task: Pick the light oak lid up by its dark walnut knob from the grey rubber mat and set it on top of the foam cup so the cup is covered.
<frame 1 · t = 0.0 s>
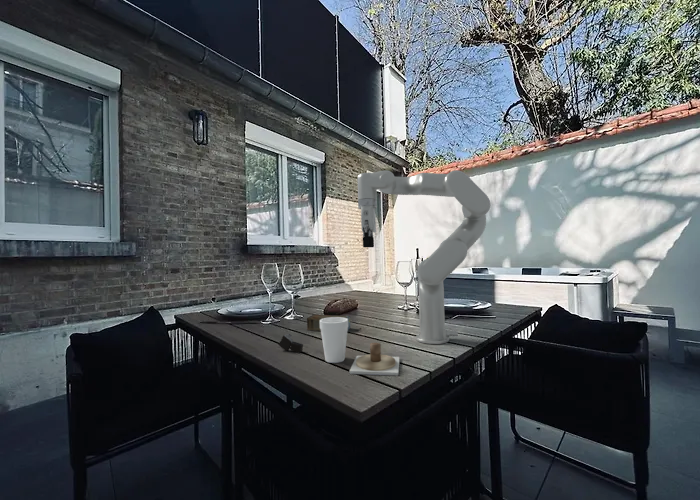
hand: (368, 247, 134), 37 cm above the table, tool pointing down, fingers open, 9 cm apart
lid: (375, 363, 102), point 1 cm above the table, touching mat
mat: (375, 366, 102), on the table
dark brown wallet: (291, 351, 121), on the table
beverage carton: (328, 330, 152), on the table
foam cup: (334, 360, 110), on the table
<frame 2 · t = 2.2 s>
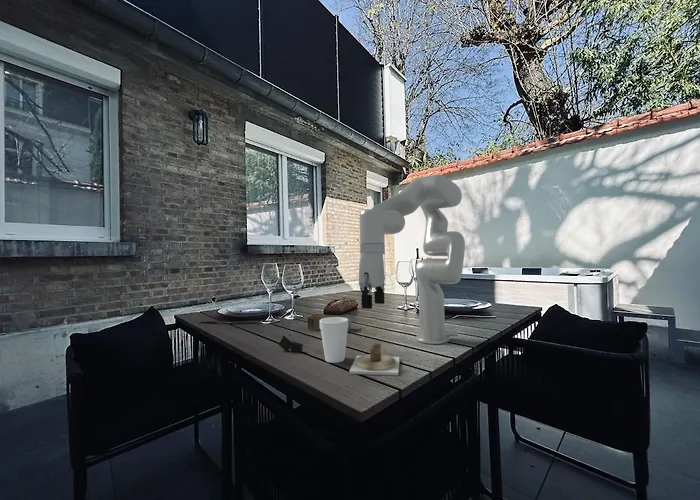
hand: (373, 305, 102), 19 cm above the table, tool pointing down, fingers open, 9 cm apart
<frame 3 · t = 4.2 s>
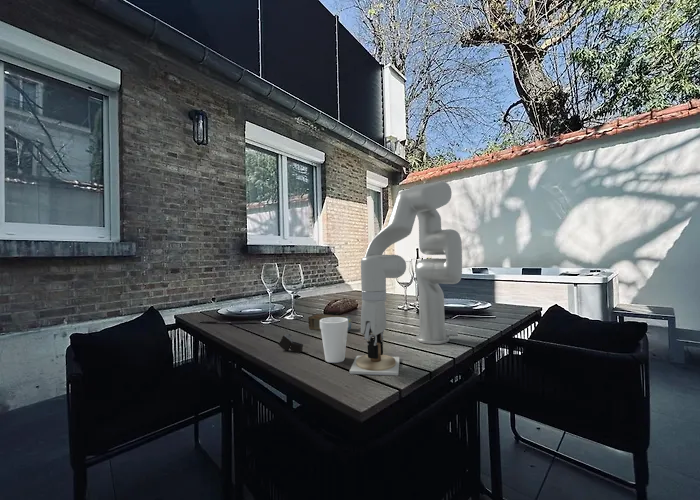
hand: (375, 355, 102), 3 cm above the table, tool pointing down, fingers closed on lid, 3 cm apart
lid: (375, 363, 102), point 1 cm above the table, touching gripper, mat
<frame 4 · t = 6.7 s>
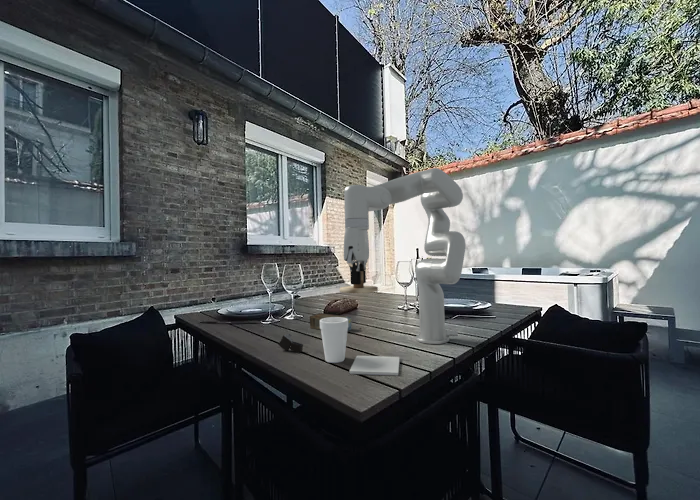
hand: (358, 283, 105), 25 cm above the table, tool pointing down, fingers closed on lid, 3 cm apart
lid: (358, 290, 105), point 23 cm above the table, touching gripper
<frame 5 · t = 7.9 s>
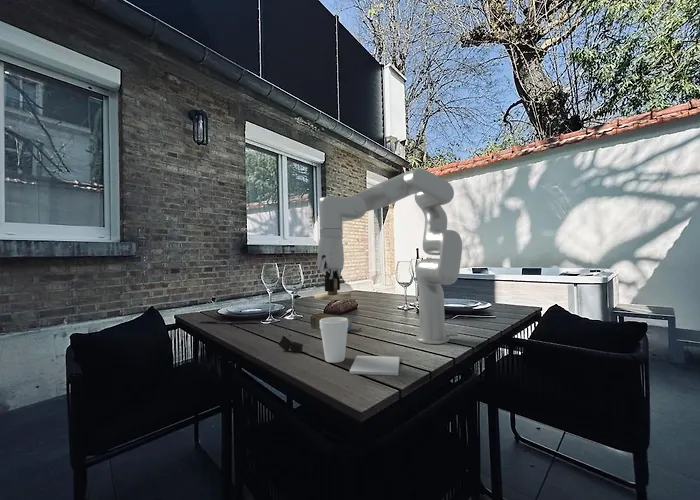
hand: (332, 290, 110), 23 cm above the table, tool pointing down, fingers closed on lid, 3 cm apart
lid: (332, 297, 110), point 20 cm above the table, touching gripper
when the fingers open (16 cm above the table, at t = 9.2 s): lid stays where it is, resting on foam cup.
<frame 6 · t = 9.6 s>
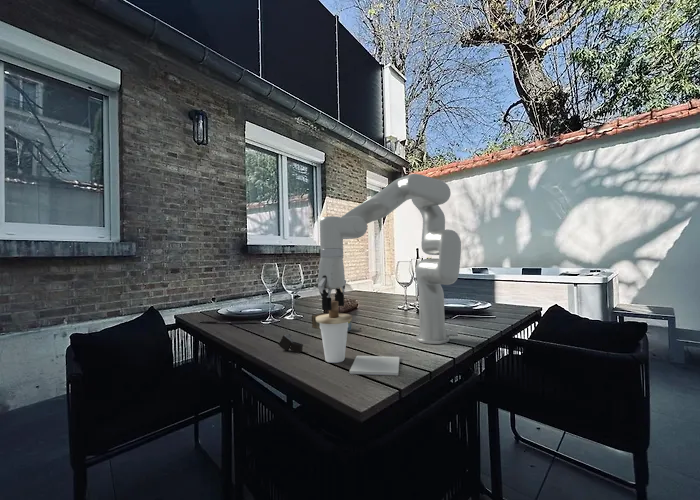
hand: (333, 307, 110), 17 cm above the table, tool pointing down, fingers open, 7 cm apart
lid: (334, 319, 110), point 13 cm above the table, touching foam cup
foam cup: (334, 360, 110), on the table, touching lid
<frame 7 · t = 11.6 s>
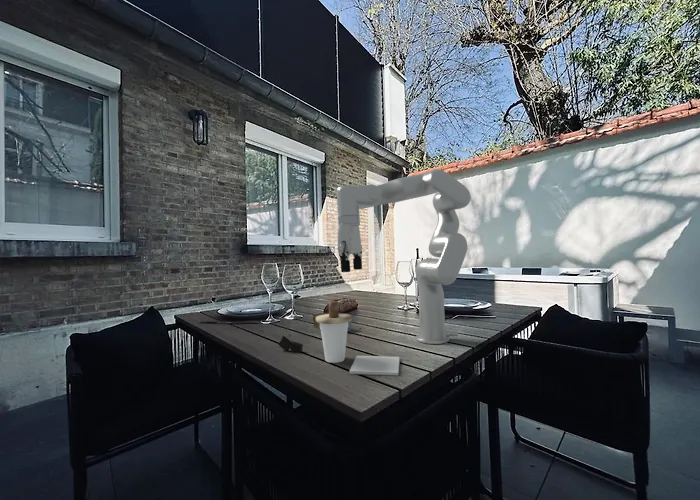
hand: (352, 270, 116), 29 cm above the table, tool pointing down, fingers open, 9 cm apart
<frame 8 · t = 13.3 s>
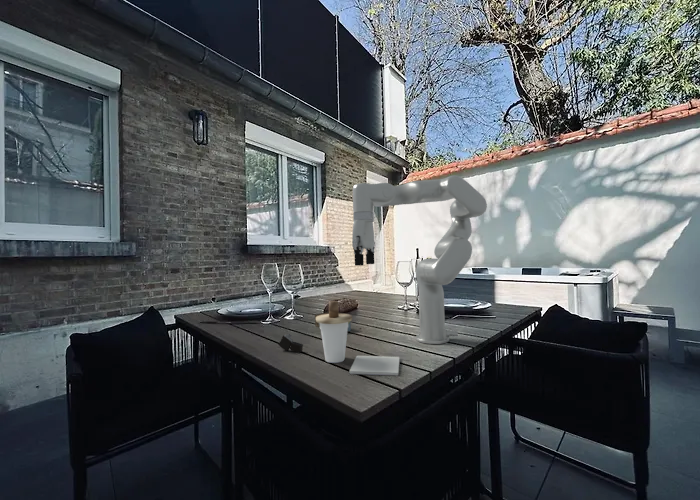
hand: (364, 264, 122), 30 cm above the table, tool pointing down, fingers open, 9 cm apart
at the end: lid 0.1 cm off-centre on the foam cup, point 13.2 cm above the foam cup's base; lid touching foam cup; foam cup tilted 0° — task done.
